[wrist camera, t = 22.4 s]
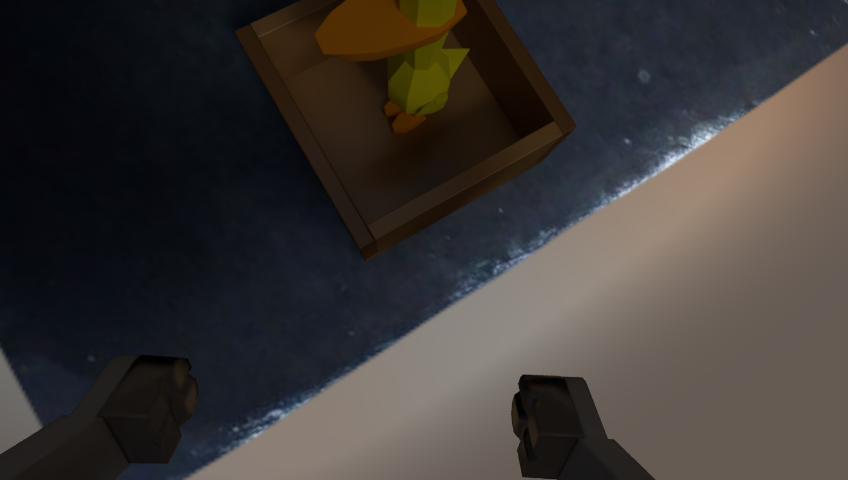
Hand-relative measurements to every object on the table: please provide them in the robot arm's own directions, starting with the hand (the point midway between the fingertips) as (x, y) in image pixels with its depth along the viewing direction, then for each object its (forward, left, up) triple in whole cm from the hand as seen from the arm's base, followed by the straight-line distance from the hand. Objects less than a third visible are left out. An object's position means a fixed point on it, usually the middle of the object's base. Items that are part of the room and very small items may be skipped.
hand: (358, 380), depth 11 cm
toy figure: (+2, +12, -11) cm, 17 cm away
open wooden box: (+2, +12, -12) cm, 17 cm away
